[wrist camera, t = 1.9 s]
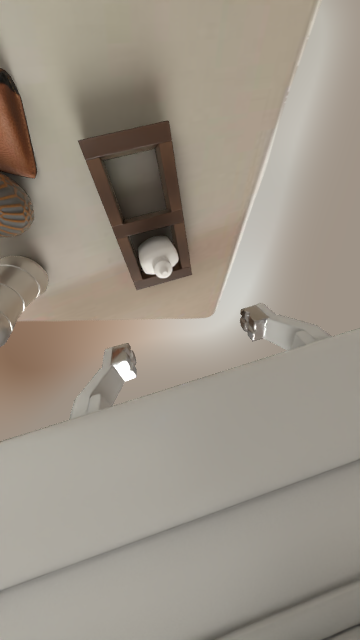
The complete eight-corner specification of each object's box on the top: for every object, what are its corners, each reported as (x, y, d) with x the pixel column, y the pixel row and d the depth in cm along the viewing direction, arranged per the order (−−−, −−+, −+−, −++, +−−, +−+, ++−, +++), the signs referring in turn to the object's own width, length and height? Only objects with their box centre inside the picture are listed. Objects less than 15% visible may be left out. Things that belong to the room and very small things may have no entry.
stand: (84, 146, 22) (77, 140, 19) (163, 128, 23) (168, 120, 20) (136, 280, 34) (136, 290, 31) (186, 266, 35) (192, 274, 31)
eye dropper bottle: (167, 261, 33) (183, 291, 24) (137, 257, 31) (140, 288, 22) (171, 236, 31) (190, 259, 21) (138, 230, 29) (143, 253, 20)
